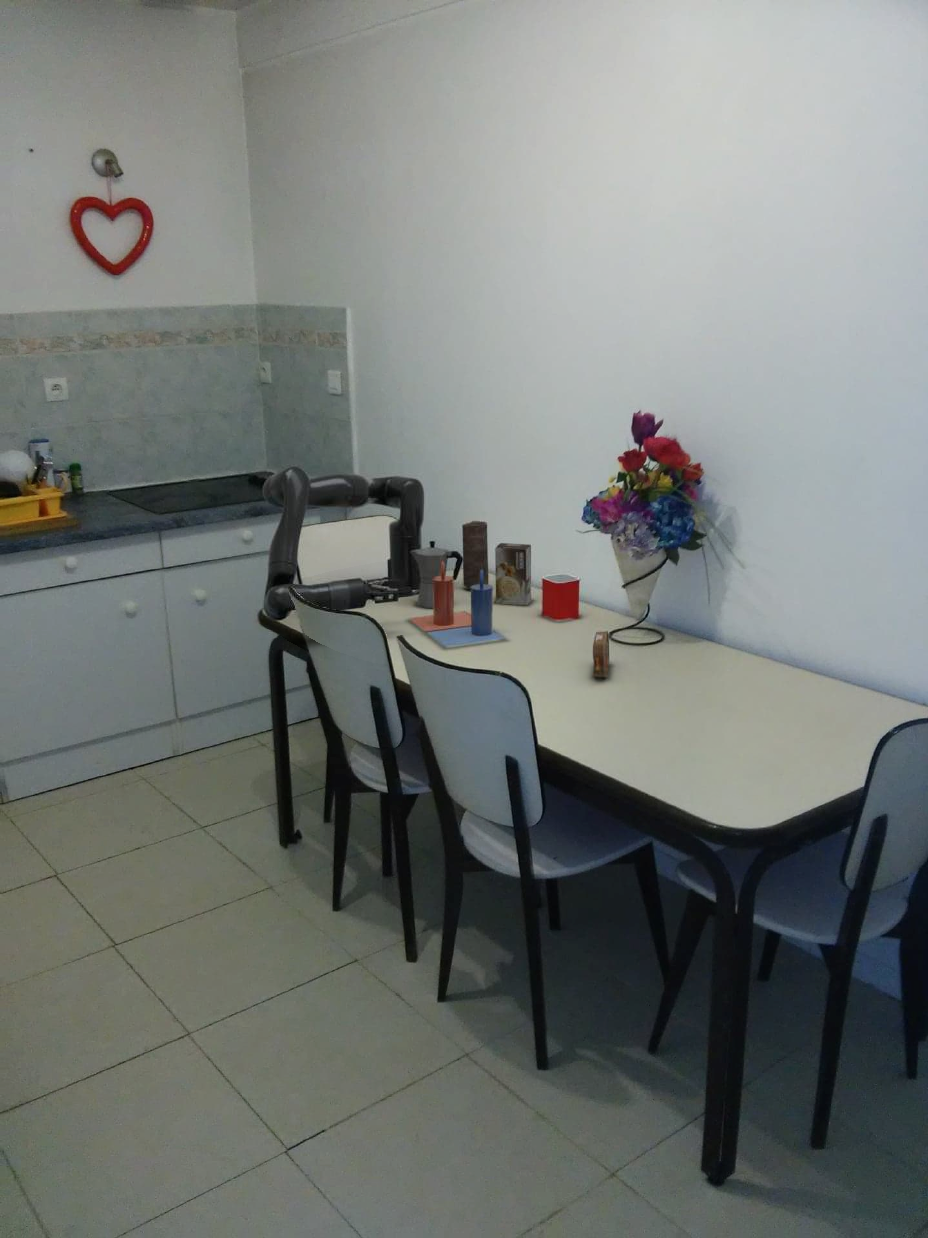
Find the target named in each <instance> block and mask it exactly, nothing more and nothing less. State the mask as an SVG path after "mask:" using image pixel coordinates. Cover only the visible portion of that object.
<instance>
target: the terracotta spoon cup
mask: <svg viewBox="0 0 928 1238" xmlns="http://www.w3.org/2000/svg"><path fill="white" fill-rule="evenodd" d="M454 581H455V580H454V578H453V577H452V576H450V575H445V563H444V562H443V561H442V562H441V576H436V577H433V609H432V615H433V623H434V624H435V625H439V626H448V625H452V624H454V613H455V592H454V591H455V589H454V588H455V586H454V585H455V583H454Z"/></svg>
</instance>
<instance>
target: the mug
mask: <svg viewBox="0 0 928 1238" xmlns="http://www.w3.org/2000/svg"><path fill="white" fill-rule="evenodd" d="M580 581H581V578H580V577H578V576H575V575H572V574H569V573H565V572H560V573H553V574H548V575H543V576H541V591H542V592H541V594H542V595H541V596H542V597H541V599H542V600H541V601H542V602H541V615H542V616H545V617H546V618H550V619H552V620H556V621H562V620H568V619H572V620H575V619H579V616H580V614H579V613H580Z"/></svg>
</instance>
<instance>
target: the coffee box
mask: <svg viewBox="0 0 928 1238" xmlns="http://www.w3.org/2000/svg"><path fill="white" fill-rule="evenodd" d="M494 549H495V550H494V555H495V556H494V559H495V560H494V561H495V563H494V564H495V604H498V605H499V604H500V605H513V606H514V605H516V606H528V604H530V602H531V601H532V545H531V544H526V543H525V544H524V543H508V542H507V543H506V542H505V543H504V542H500V543H499V544H497V545H496V547H495V548H494Z"/></svg>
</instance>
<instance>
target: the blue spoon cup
mask: <svg viewBox="0 0 928 1238" xmlns="http://www.w3.org/2000/svg"><path fill="white" fill-rule="evenodd" d="M470 615H471V633H472V634H473V635H476V636H487V635H491V634H492V633H493V631H494V630H493V626H494V625H493V621H494V620H493V586H492V585H490V584H489V585H486V584H483V570H480V584H477V585H473V586H471V589H470Z"/></svg>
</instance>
